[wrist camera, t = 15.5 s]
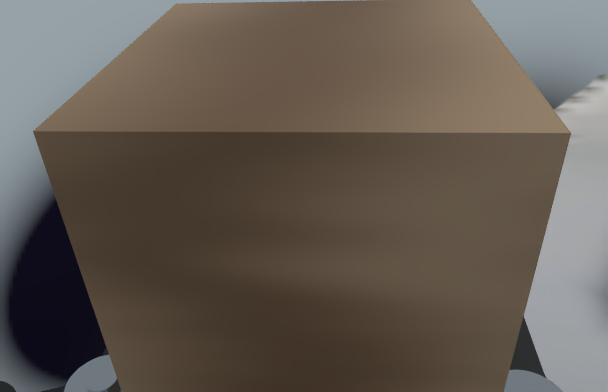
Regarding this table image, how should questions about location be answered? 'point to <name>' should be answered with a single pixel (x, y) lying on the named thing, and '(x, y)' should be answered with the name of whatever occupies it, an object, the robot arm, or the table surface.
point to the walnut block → (308, 197)
